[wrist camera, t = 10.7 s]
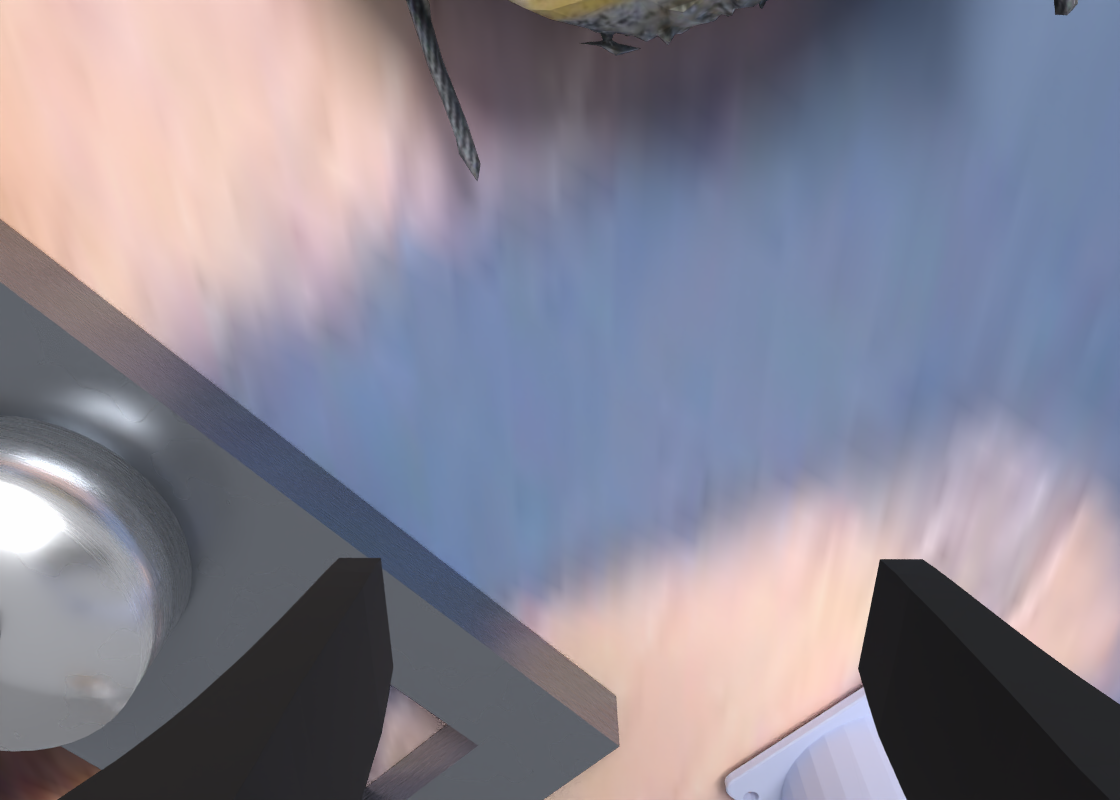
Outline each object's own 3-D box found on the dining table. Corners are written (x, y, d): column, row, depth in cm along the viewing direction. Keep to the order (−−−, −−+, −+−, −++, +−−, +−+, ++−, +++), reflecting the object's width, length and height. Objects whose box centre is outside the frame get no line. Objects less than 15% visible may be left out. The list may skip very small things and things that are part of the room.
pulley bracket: (615, 696, 27) (628, 872, 21) (378, 868, 30) (336, 1056, 25) (-9, 212, 20) (-222, 288, 15) (-214, 508, 24) (-446, 656, 18)
